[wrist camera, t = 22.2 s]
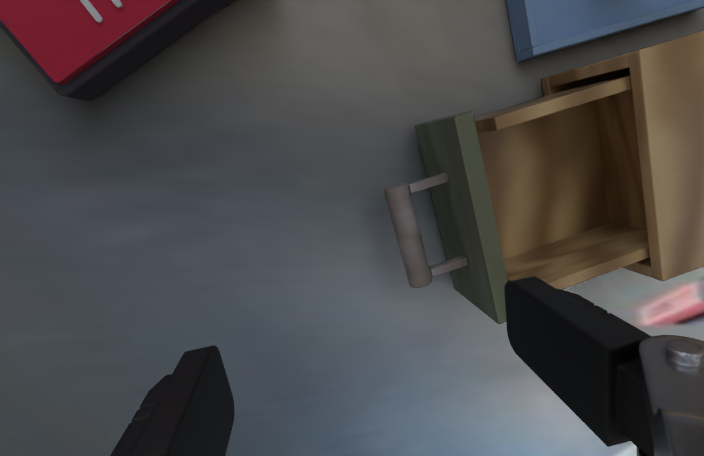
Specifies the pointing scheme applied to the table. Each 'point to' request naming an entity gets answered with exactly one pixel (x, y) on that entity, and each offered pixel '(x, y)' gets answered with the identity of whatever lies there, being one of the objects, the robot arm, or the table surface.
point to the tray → (582, 21)
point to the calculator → (97, 37)
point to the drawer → (529, 194)
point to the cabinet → (663, 145)
